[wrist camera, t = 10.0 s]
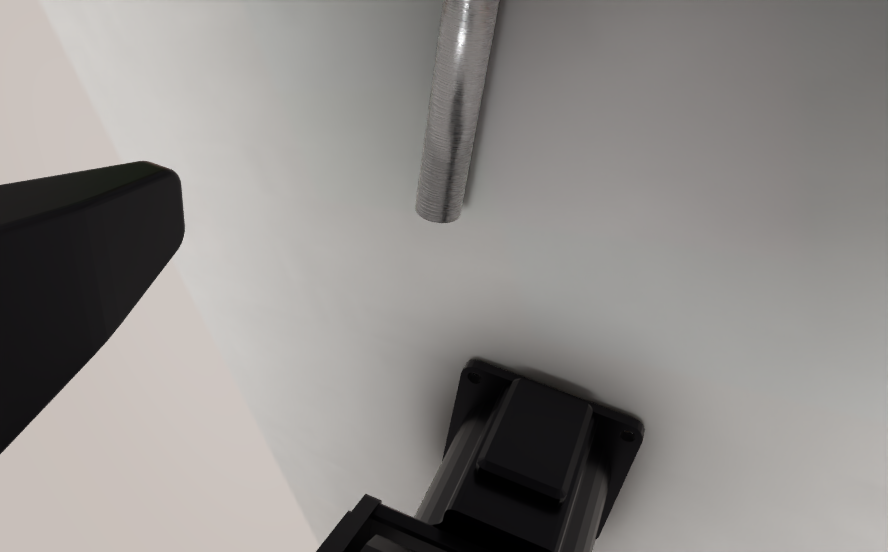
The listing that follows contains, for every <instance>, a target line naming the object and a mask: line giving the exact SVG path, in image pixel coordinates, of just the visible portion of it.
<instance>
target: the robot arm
mask: <svg viewBox="0 0 888 552" xmlns="http://www.w3.org/2000/svg"><path fill="white" fill-rule="evenodd" d="M184 232H185V223H184V211H183V200H182V188H181V181H180V178H179V176H178V175H177V173H176V172H174V171H173V170H172V169H169V168H166V167H163V166H160V165H157V164H155V163H152V162H148V161H138V162H132V163H126V164H120V165H114V166H109V167H103V168H97V169H91V170H86V171H79V172H73V173H68V174H62V175H57V176H51V177H44V178H38V179H33V180H27V181H21V182H15V183H9V184H3V185H0V454H1V453H2V452H3V451H4V450H5V449H6V448H7V447H8V446H9V444H11V442H12V441H13V440H14V439H15V438H16V437H17V436H18V435H19V434H20V433H21V432H22V431H23V430H24V429H25V427H27V425H29V423H30V422H31V421H32V420H33V419H34V418H35V417H36V416H37V415H38V414H39V413H40V412H41V411H42V410H43V408H45V407H46V406H47V405H48V403H49V402H50V401H51V400H52V399H53V398H54V397H55V396H56V395H57V394H58V393H59V392H60V391H61V390H62V389H63V388H64V386H66V384H67V383H68V382H69V381H70V380H71V379H72V378H73V377H74V376H75V375H76V374H77V373H78V372H79V371H80V370H81V369H82V368H83V366H84V365H85V364H86V363H87V362H88V361H89V360H90V359H91V358H92V357H93V356H94V355H95V354H96V353H97V351H98V350H99V349H100V348H101V347H102V346H103V345H104V344H105V343H106V342H107V341H108V339H109V338H110V337H111V336H112V334H113V333H114V332H115V331H116V329H117V328H118V327H119V326H120V325H121V323H122V322H123V321H124V319H125V318H126V317H127V315H128V314H129V313H130V311H131V310H132V309H133V308H134V306H135V305H136V304H137V302H138V301H139V300H140V298H141V297H142V296H143V294H144V293H145V292H146V290H147V289H148V288H149V287H150V285H151V284H152V283H153V281H154V280H155V279H156V278H157V276H158V275H159V274H160V272H161V271H162V270H163V268H164V267H165V266H166V264H167V263H168V262H169V261H170V259H171V258H172V257H173V255H174V254H175V253H176V251H177V250H178V248H179V247H180V245H181V243H182V240H183V237H184ZM472 372H473V373H477V374H478V375H479V376H480V377H479V376H476V375H474V374H473V373H472ZM625 430H627V431H631V432H632V433H633V434H630V433H626V432H625ZM644 430H645V429H644V426H643V424H642V423H641V422H640V421H638V420H636V419H635V418H632V417H630V416H627V415H624V414H622V413H619V412H616V411H614V410H611V409H608V408H606V407H603V406H600V405H597V404H595V403H592V402H589V401H587V400H584V399H581V398H579V397H576V396H573V395H571V394H568V393H565V392H563V391H560V390H557V389H555V388H552V387H549V386H547V385H544V384H541V383H539V382H536V381H533V380H530V379H528V378H525V377H522V376H520V375H517V374H514V373H512V372H509V371H506V370H504V369H501V368H498V367H496V366H493V365H490V364H488V363H485V362H482V361H479V360H470V361H469V362H467V363H466V365H465V367H464V369H463V371H462V373H461V376H460V381H459V386H458V390H457V395H456V400H455V404H454V409H453V413H452V418H451V423H450V427H449V432H448V437H447V441H446V446H445V451H444V455H443V460H442V463H441V465H440V467H439V469H438V471H437V473H436V475H435V477H434V479H433V481H432V483H431V485H430V487H429V489H428V491H427V493H426V495H425V497H424V499H423V501H422V503H421V505H420V507H419V509H418V511H417V513H416V515H415V517H411V516H409V515H407V514H404V513H402V512H400V511H397V510H395V509H393V508H390V507H388V506H386V505H383V504H381V503H382V501H381V500H379V499H377V498H374V497H372V496H370V495H367V494H365V495H364V496H363V498H362V499H361V500H360V501H359V503H358V504H357V505H356V507H355V508H354V509H353V510H352V512H351V511H348V512H347V513H346V514H345V516H344V517H343V518H342V519H341V521H340V522H339V523H338V524H337V526H336V527H335V528H334V530H333V531H332V532H331V533H330V535H329V536H328V537H327V538H326V540H325V541H324V542H323V543H322V545H321V546H320V547H319V549H318V550H317V551H316V552H592V550H593V546H594V542H595V540H596V539H597V538H598V537H599V535H600V533H601V531H602V528H603V526H604V524H605V522H606V520H607V518H608V515H609V513H610V511H611V509H612V507H613V504H614V502H615V500H616V498H617V496H618V494H619V491H620V489H621V487H622V485H623V483H624V480H625V478H626V476H627V474H628V472H629V469H630V467H631V465H632V463H633V461H634V459H635V456H636V454H637V452H638V450H639V448H640V445H641V443H642V440H643V436H644Z"/></svg>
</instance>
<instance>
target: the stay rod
mask: <svg viewBox="0 0 888 552" xmlns="http://www.w3.org/2000/svg"><path fill="white" fill-rule="evenodd" d="M498 6H499V0H444V1H443V8H442V16H441V23H440V30H439V38H438V45H437V52H436V60H435V67H434V74H433V81H432V89H431V96H430V103H429V111H428V118H427V125H426V132H425V140H424V147H423V154H422V162H421V169H420V176H419V184H418V191H417V198H416V205H415V210H416V212H417V213H418V214H419V215H420V216H421V217H422V218H424V219H426V220H429V221H432V222H437V223H448V222H452V221H455V220H457V219H458V218H459V217H460V215H461V209H462V204H463V198H464V193H465V187H466V182H467V176H468V171H469V165H470V160H471V154H472V149H473V143H474V138H475V132H476V127H477V121H478V116H479V110H480V105H481V99H482V94H483V88H484V83H485V77H486V72H487V66H488V61H489V55H490V50H491V44H492V39H493V33H494V28H495V22H496V17H497V11H498Z"/></svg>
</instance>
